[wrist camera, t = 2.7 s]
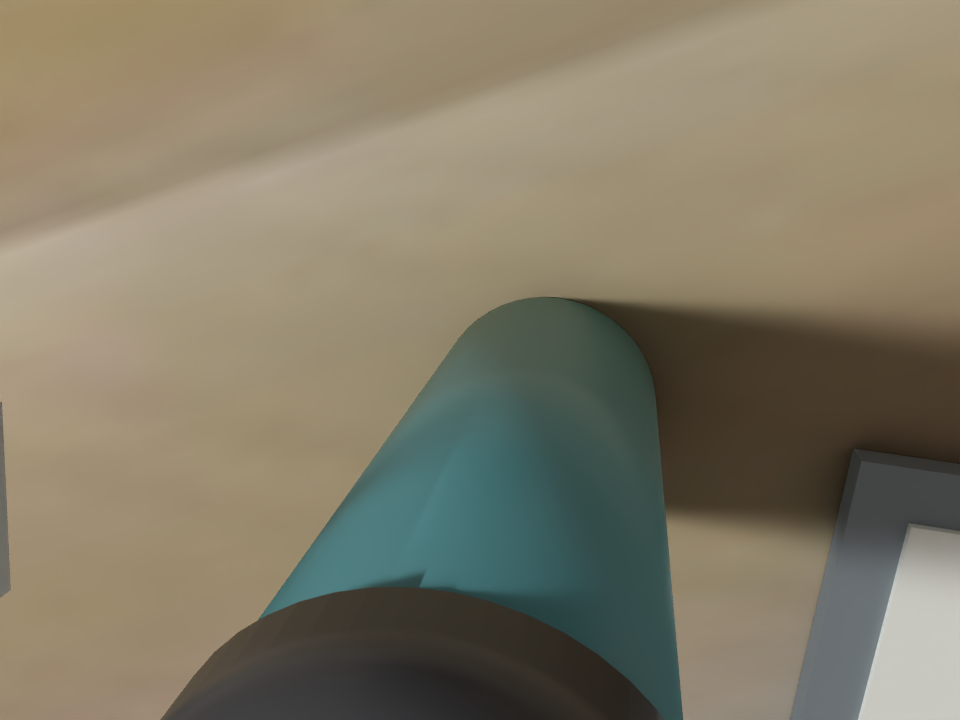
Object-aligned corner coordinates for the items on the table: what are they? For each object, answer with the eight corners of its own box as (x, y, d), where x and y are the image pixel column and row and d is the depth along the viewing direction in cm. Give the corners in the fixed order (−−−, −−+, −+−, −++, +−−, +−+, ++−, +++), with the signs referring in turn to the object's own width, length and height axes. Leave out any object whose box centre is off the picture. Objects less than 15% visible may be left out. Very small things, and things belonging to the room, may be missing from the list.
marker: (441, 274, 17) (26, 664, 5) (682, 305, 16) (807, 815, 5) (422, 491, 18) (54, 1189, 6) (645, 527, 17) (674, 1356, 6)
